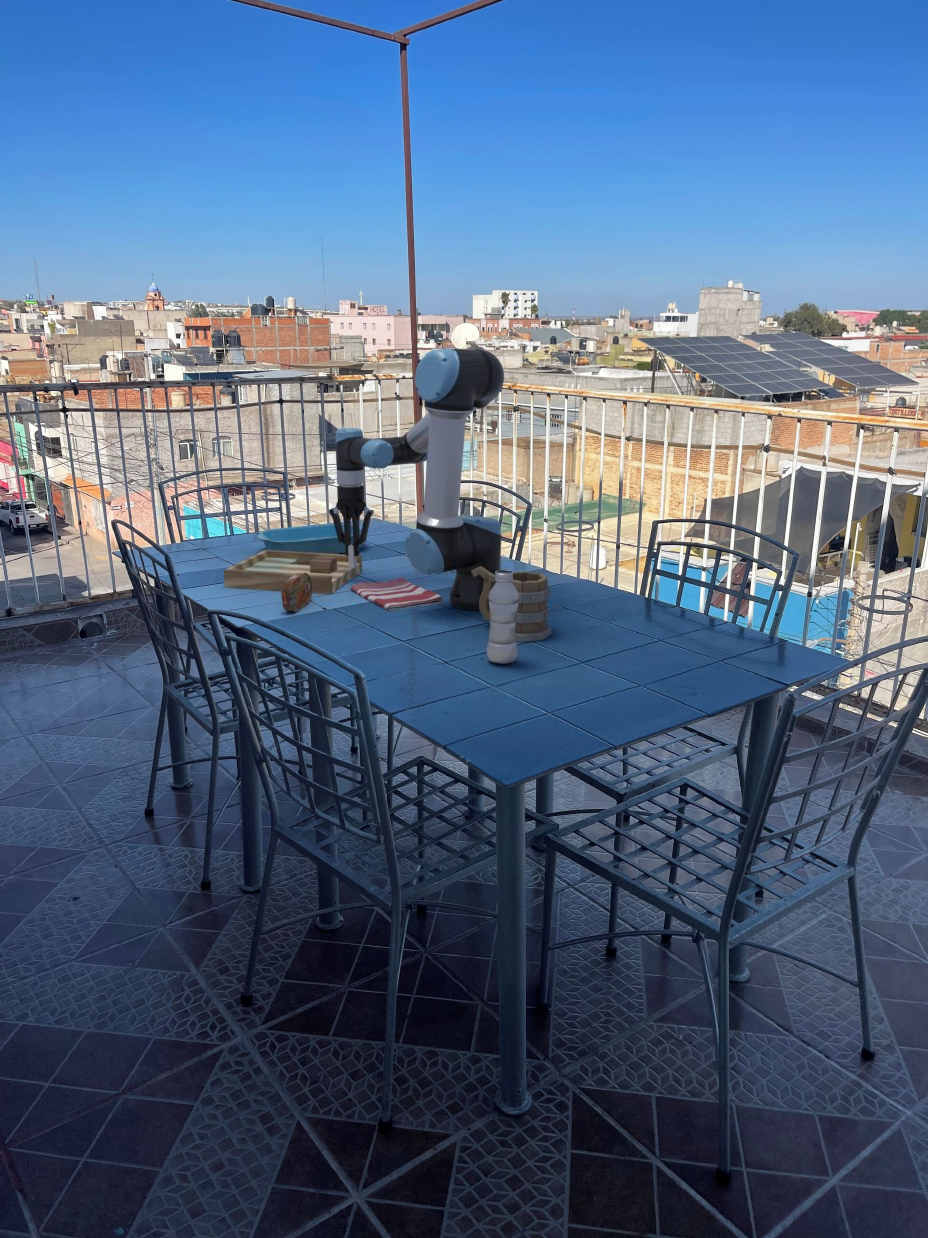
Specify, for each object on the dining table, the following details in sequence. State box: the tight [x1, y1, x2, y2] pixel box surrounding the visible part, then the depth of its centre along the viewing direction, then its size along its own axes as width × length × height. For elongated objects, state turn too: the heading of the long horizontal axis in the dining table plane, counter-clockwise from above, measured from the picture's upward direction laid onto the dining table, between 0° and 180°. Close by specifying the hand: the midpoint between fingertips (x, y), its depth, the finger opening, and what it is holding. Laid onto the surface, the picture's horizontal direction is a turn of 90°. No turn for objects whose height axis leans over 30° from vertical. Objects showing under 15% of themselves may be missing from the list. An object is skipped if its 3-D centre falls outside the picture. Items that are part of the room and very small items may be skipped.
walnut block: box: [310, 556, 337, 574], centre depth 246 cm, size 6×6×4 cm
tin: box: [280, 573, 313, 613], centre depth 220 cm, size 15×3×8 cm, turn 168°
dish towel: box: [349, 577, 443, 612], centre depth 232 cm, size 17×23×3 cm
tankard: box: [471, 566, 553, 643], centre depth 202 cm, size 20×13×15 cm, turn 59°
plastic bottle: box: [486, 569, 519, 665], centre depth 180 cm, size 6×7×20 cm
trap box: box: [223, 549, 363, 595], centre depth 248 cm, size 27×32×5 cm
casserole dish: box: [256, 522, 363, 554], centre depth 285 cm, size 37×22×7 cm, turn 116°
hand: (352, 566), depth 244 cm, fingers closed
